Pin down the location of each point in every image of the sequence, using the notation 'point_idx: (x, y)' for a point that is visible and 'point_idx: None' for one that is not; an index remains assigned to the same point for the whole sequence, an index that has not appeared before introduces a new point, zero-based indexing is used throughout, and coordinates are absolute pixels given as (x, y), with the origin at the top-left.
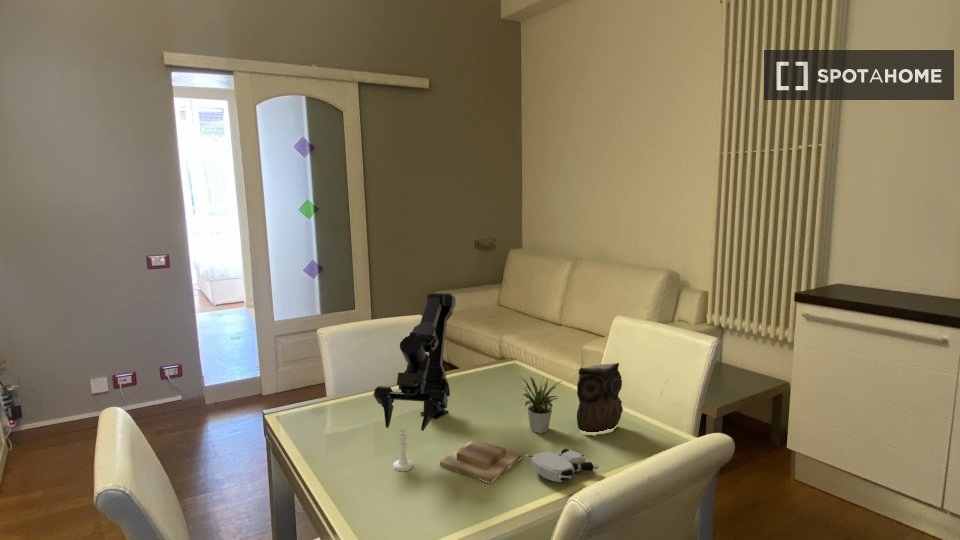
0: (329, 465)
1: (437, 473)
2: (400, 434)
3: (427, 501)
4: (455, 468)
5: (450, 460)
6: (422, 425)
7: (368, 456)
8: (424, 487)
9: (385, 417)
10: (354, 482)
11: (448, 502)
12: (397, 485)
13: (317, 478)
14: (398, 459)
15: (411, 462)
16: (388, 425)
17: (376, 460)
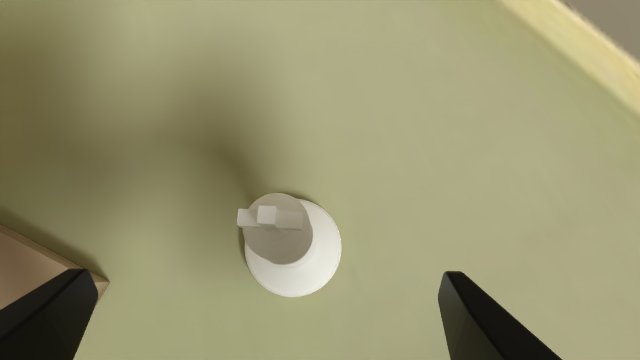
0: (634, 197)
1: (117, 207)
2: (296, 236)
3: (137, 14)
4: (19, 239)
5: None
6: (50, 288)
7: None
8: (161, 94)
9: (528, 336)
10: (451, 86)
11: (60, 18)
12: (272, 91)
13: (612, 91)
14: (315, 244)
15: (249, 257)
16: (446, 312)
17: None
